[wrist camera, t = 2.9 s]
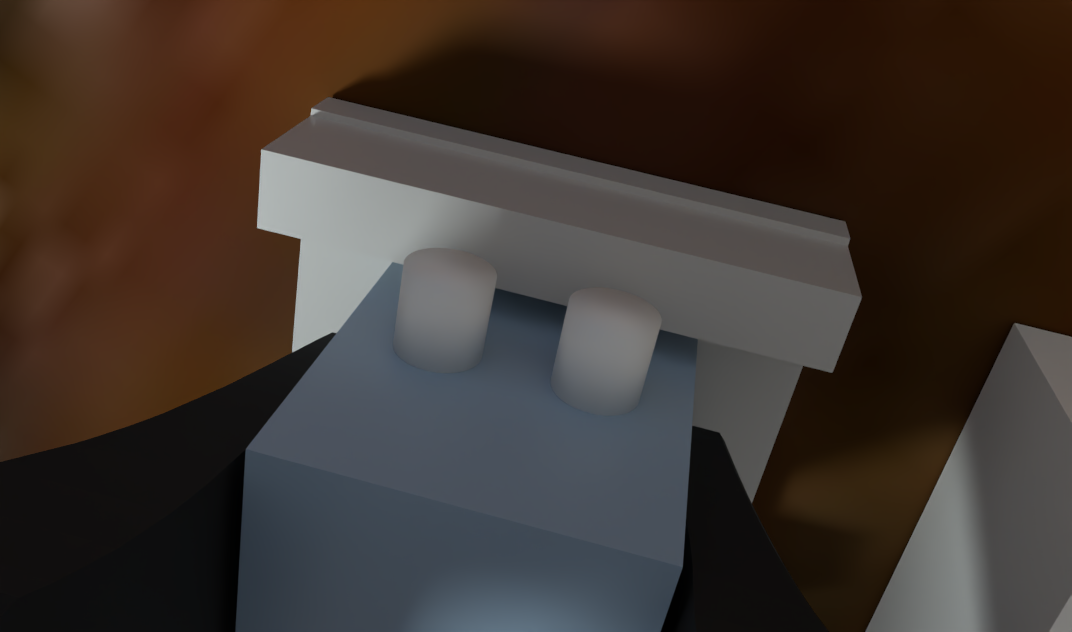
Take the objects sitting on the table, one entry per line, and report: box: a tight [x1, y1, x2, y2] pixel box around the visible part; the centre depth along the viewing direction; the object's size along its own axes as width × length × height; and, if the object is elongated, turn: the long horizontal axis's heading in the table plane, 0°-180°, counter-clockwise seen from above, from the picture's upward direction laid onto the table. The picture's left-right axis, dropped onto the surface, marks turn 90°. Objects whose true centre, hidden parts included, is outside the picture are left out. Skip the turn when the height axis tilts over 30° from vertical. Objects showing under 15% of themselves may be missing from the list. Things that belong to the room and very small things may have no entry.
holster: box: [257, 97, 862, 503], centre depth 14 cm, size 7×7×2 cm
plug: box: [235, 248, 698, 632], centre depth 11 cm, size 4×5×5 cm
